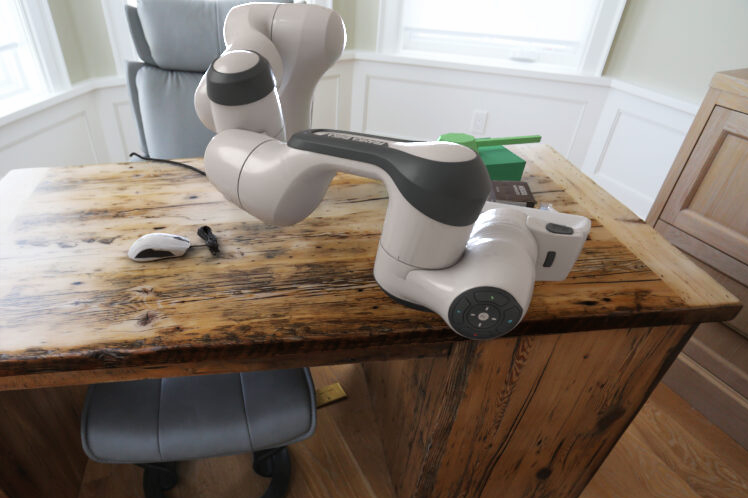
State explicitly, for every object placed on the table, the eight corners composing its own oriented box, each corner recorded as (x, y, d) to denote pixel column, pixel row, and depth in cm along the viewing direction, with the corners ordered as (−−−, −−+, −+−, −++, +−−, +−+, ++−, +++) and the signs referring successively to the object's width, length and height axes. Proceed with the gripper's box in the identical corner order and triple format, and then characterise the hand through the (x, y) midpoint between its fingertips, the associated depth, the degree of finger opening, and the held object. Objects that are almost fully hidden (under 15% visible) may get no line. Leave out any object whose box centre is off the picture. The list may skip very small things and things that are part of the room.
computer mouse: (128, 245, 98) (123, 228, 95) (216, 234, 101) (213, 217, 99) (127, 270, 91) (122, 252, 88) (221, 257, 94) (219, 239, 91)
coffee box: (509, 286, 86) (537, 202, 75) (472, 282, 87) (495, 199, 76) (503, 260, 92) (528, 180, 82) (469, 257, 93) (490, 177, 83)
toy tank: (562, 142, 108) (419, 153, 104) (544, 193, 116) (411, 206, 112) (521, 120, 121) (392, 129, 117) (508, 167, 130) (387, 177, 125)
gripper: (414, 251, 64) (435, 211, 74) (578, 284, 58) (577, 234, 68) (421, 208, 60) (442, 171, 70) (598, 238, 54) (595, 192, 63)
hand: (510, 202), depth 69 cm, fingers open, 8 cm apart
